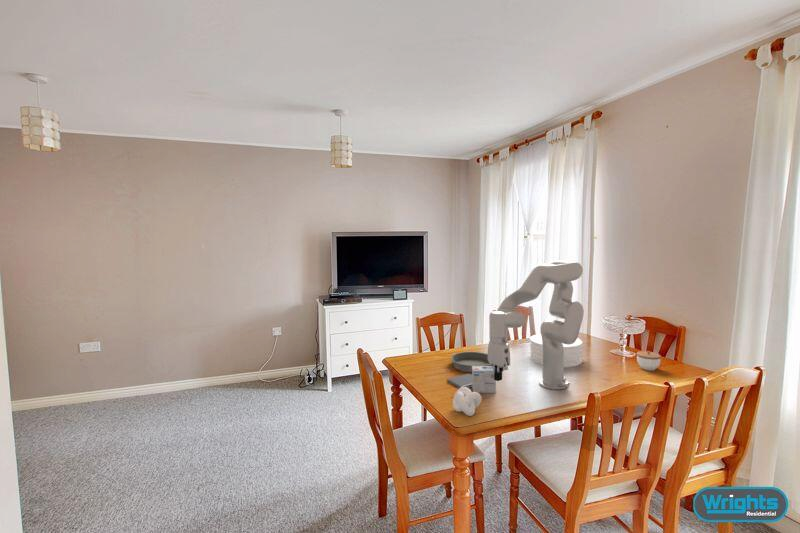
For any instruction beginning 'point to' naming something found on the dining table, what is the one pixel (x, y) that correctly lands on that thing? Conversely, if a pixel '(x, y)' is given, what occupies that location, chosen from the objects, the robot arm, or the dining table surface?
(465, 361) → the cake pan
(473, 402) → the white decorative knot
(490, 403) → the dining table surface
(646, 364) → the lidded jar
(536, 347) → the plate stack
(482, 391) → the light bulb box
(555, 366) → the robot arm
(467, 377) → the mat
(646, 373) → the dining table surface
